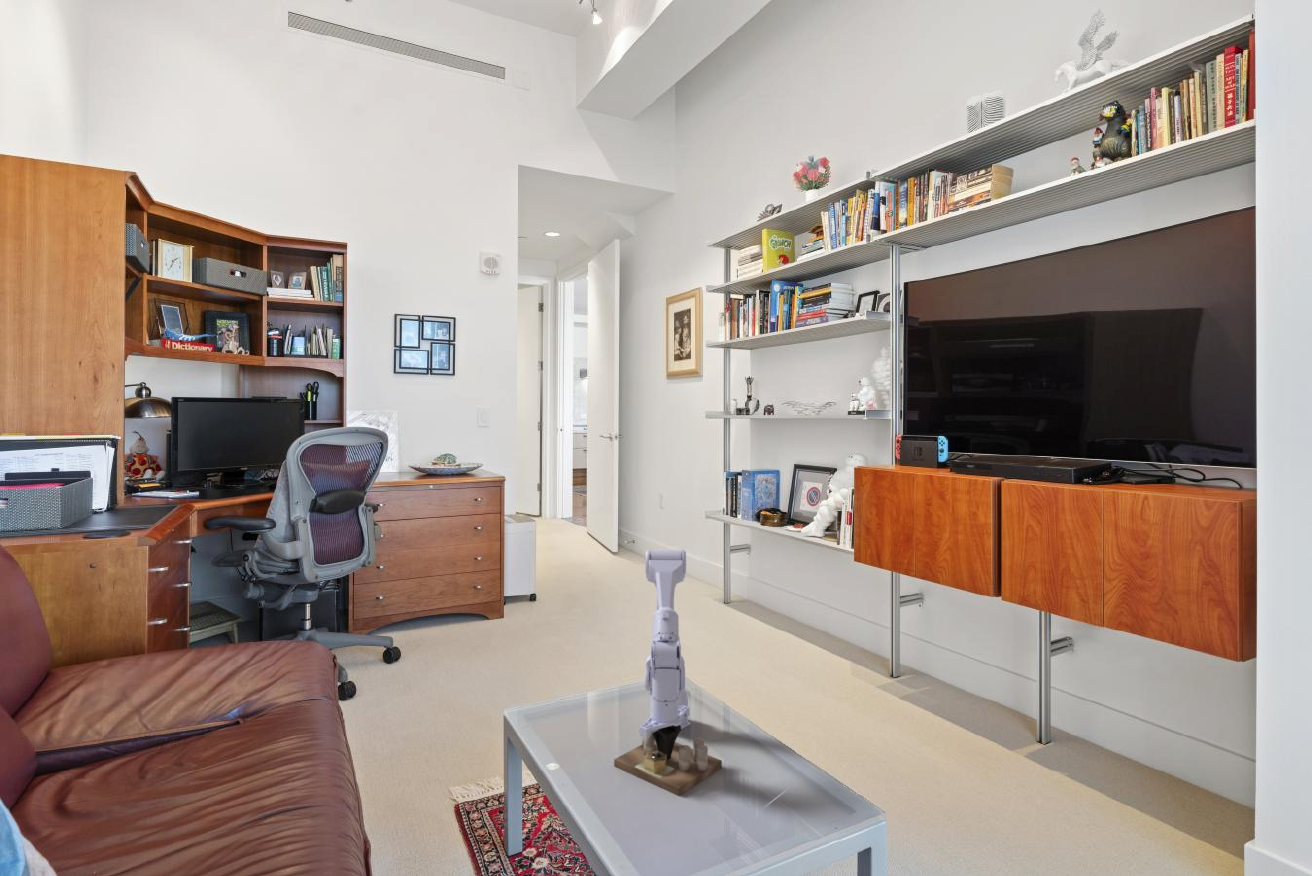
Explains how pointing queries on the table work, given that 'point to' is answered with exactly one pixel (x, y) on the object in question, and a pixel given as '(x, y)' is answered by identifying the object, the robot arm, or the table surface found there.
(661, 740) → the robot arm
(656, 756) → the nut
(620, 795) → the table surface
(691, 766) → the board
